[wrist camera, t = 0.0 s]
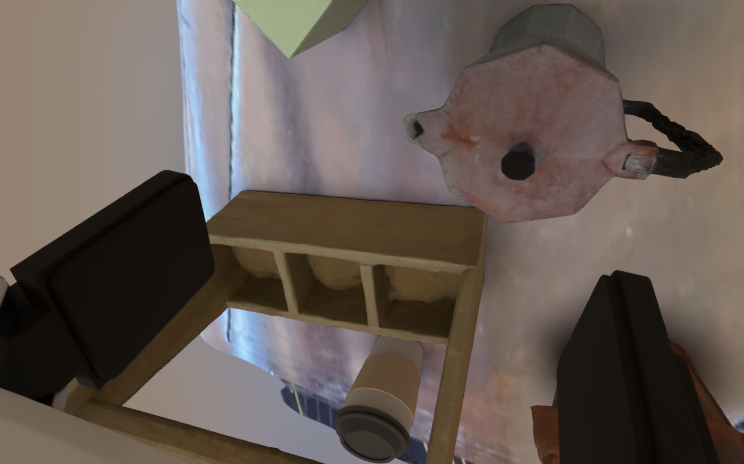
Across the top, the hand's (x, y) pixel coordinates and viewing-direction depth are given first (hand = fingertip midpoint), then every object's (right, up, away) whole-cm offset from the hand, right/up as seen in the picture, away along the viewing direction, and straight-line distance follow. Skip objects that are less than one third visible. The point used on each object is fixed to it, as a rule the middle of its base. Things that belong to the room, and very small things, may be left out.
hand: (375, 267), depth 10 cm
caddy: (-1, +1, +41) cm, 41 cm away
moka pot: (+14, +15, +25) cm, 32 cm away
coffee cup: (+4, -15, +50) cm, 53 cm away
